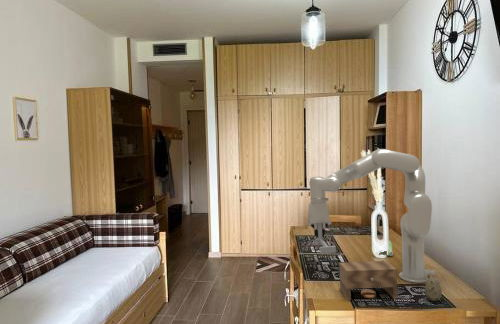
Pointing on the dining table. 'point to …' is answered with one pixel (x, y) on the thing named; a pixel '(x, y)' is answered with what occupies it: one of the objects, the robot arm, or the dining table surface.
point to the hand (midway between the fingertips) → (319, 236)
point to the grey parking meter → (320, 241)
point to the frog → (390, 249)
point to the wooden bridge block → (368, 277)
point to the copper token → (368, 293)
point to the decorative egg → (433, 289)
